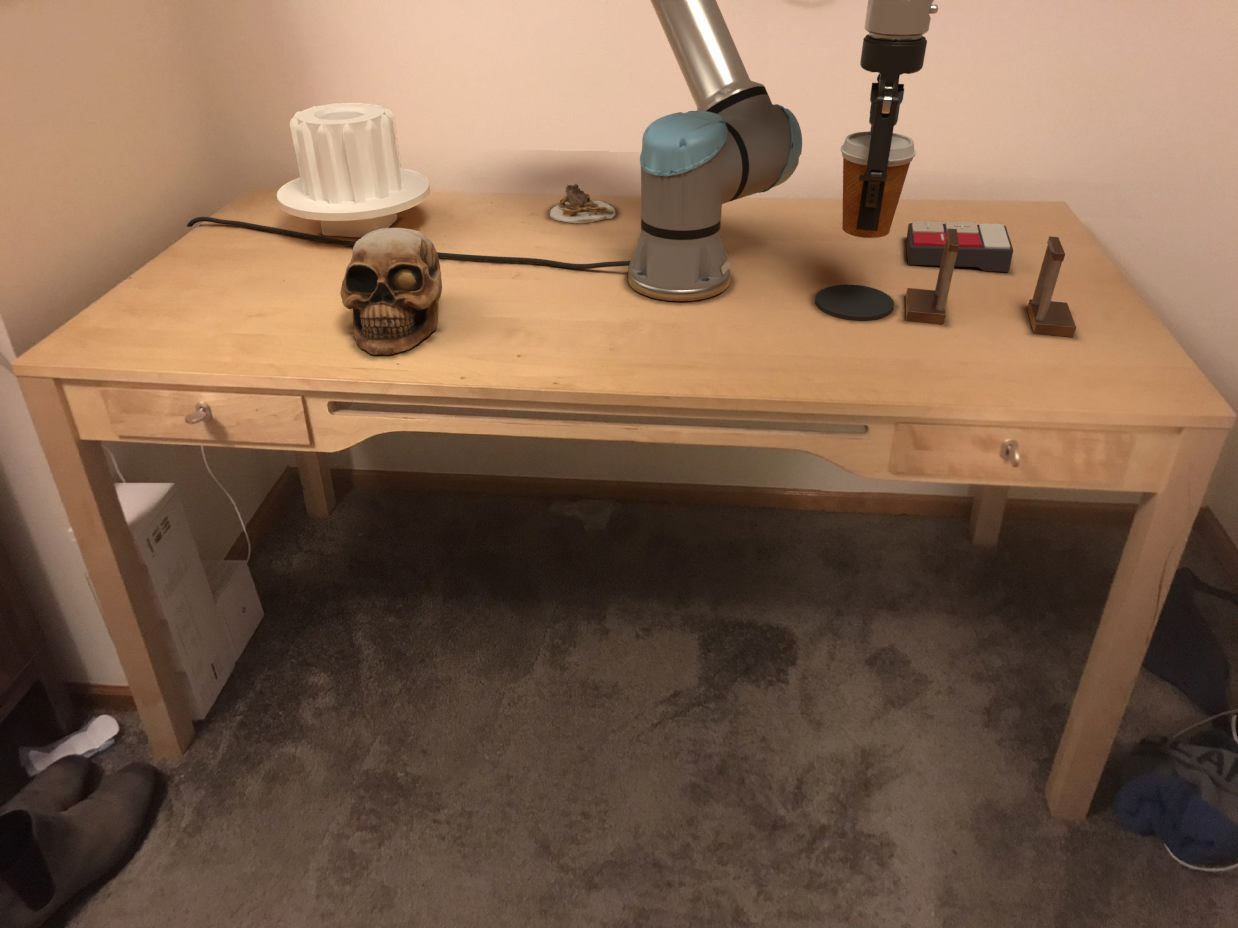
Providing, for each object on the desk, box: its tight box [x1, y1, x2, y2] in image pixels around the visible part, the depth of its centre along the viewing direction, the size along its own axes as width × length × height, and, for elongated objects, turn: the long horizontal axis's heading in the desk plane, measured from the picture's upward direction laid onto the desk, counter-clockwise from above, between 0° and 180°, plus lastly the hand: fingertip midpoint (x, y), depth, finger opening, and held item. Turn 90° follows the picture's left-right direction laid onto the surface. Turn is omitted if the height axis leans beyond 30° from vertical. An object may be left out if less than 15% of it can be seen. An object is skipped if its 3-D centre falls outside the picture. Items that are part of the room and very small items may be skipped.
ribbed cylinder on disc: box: [276, 101, 431, 239], centre depth 150 cm, size 25×25×19 cm
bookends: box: [905, 229, 1077, 338], centre depth 122 cm, size 22×8×11 cm, turn 76°
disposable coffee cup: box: [840, 130, 917, 239], centre depth 119 cm, size 10×10×12 cm
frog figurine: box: [549, 183, 616, 224], centre depth 160 cm, size 12×12×4 cm
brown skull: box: [339, 227, 443, 356], centre depth 122 cm, size 16×17×13 cm
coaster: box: [814, 283, 895, 321], centre depth 129 cm, size 11×11×1 cm
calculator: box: [906, 220, 1014, 273], centre depth 142 cm, size 11×4×15 cm
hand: (867, 217), depth 122 cm, fingers closed on disposable coffee cup, 8 cm apart
